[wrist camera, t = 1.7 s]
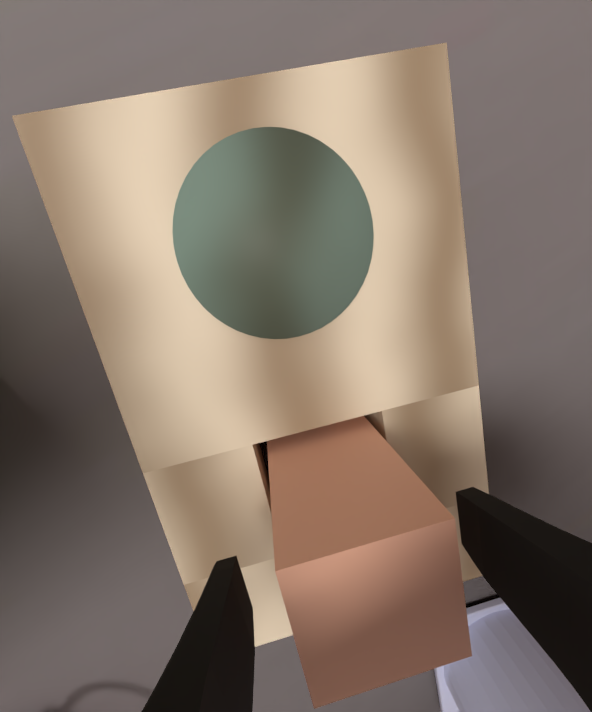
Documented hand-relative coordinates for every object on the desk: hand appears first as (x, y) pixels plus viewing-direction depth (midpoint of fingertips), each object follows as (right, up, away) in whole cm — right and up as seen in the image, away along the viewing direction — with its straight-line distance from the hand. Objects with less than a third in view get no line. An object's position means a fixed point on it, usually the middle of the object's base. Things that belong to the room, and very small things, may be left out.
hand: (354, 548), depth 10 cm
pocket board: (-1, +5, +5) cm, 7 cm away
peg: (-1, +1, +6) cm, 6 cm away
